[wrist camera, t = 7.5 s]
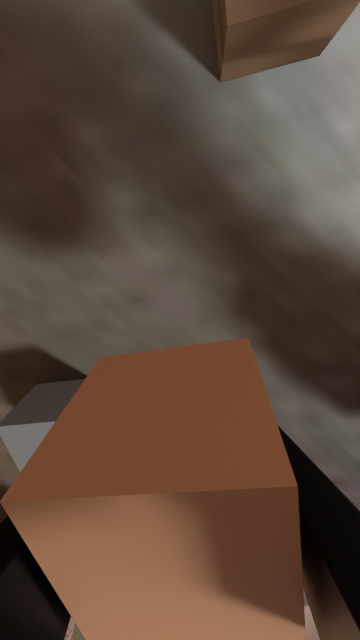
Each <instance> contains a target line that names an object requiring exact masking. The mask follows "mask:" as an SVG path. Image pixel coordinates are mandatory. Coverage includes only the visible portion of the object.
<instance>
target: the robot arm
mask: <svg viewBox="0 0 360 640" xmlns="http://www.w3.org/2000/svg"><path fill="white" fill-rule="evenodd" d="M278 428H279V431H280V434H281V437H282V440H283V443H284V446H285V449H286V452H287V455H288V458H289V461H290V464H291V467H292V470H293V473H294V476H295V479H296V482H297V485H298V500H299V520H300V539H301V559H302V579H303V589H304V592H305V595H306V598H307V601H308V604H309V607H310V610H311V613H312V616H313V619H314V622H315V625H316V628H317V631H318V634H319V638H320V640H360V511H359V509H358V508H357V507H356V506H355V505H354V504H353V503H352V502H351V501H350V500H349V499H348V498H347V497H346V496H345V495H344V494H343V493H342V492H341V491H340V490H339V489H338V488H337V487H336V486H335V484H334V483H333V482H332V481H331V480H330V479H329V478H328V477H327V476H326V475H325V474H324V473H323V472H322V471H321V470H320V469H319V468H318V467H317V466H316V465H315V464H314V463H313V462H312V461H311V459H310V458H309V457H308V456H307V455H306V454H305V453H304V452H303V451H302V450H301V449H300V448H299V447H298V446H297V445H296V444H295V443H294V442H293V441H292V440H291V439H290V438H289V437H288V436H287V434H286V433H285V432H284V431H283V430H282V429H281V428H280V427H279V426H278ZM70 618H71V615H70V614H69V612H68V610H67V609H66V607H65V606H64V604H63V602H62V601H61V599H60V598H59V596H58V594H57V593H56V591H55V590H54V588H53V586H52V585H51V583H50V582H49V580H48V578H47V577H46V575H45V574H44V572H43V570H42V569H41V567H40V566H39V564H38V562H37V561H36V559H35V558H34V556H33V554H32V553H31V551H30V550H29V548H28V546H27V545H26V543H25V542H24V540H23V538H22V537H21V535H20V534H19V532H18V530H17V529H16V527H15V526H14V524H13V522H12V521H11V519H10V518H9V516H7V517H6V518H5V519H4V520H3V521H2V522H1V523H0V640H64V639H65V635H66V632H67V629H68V625H69V622H70Z"/></svg>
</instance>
